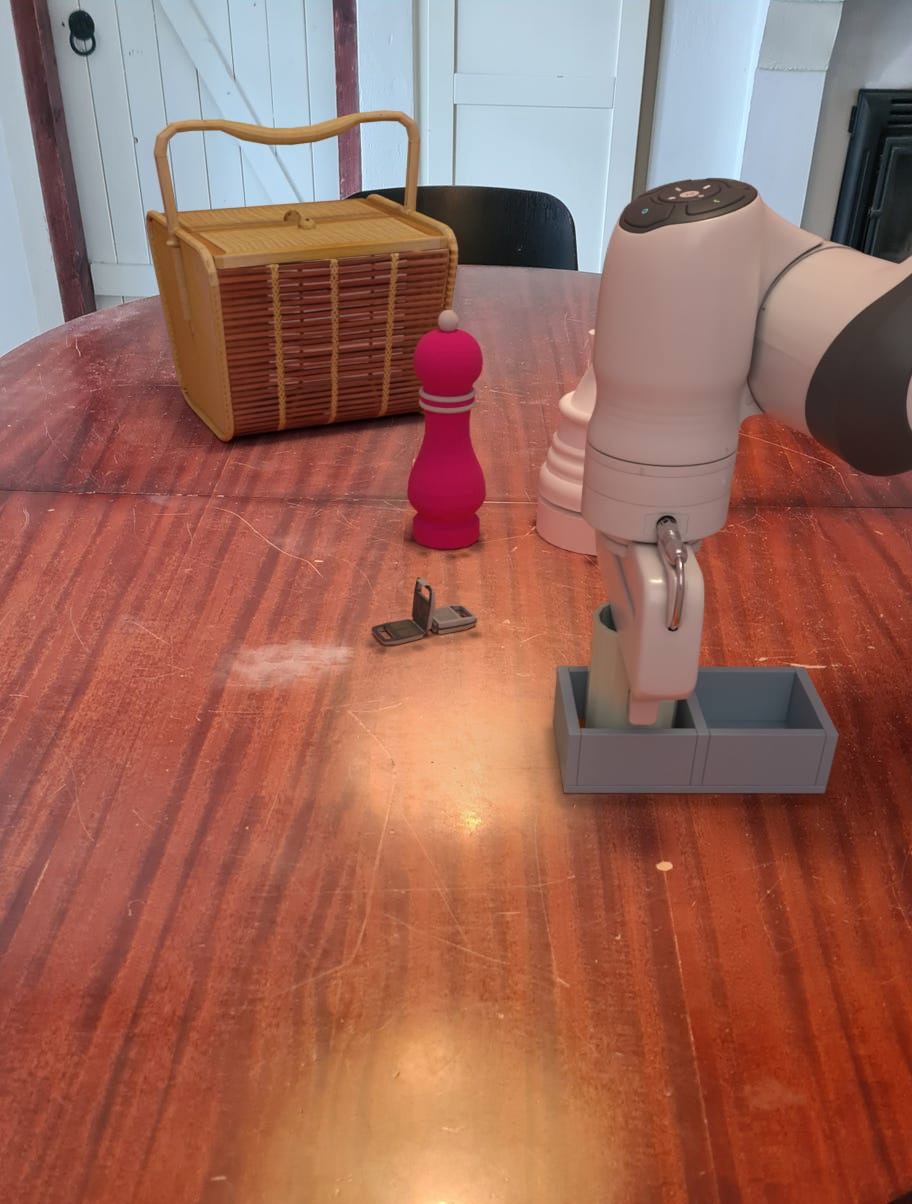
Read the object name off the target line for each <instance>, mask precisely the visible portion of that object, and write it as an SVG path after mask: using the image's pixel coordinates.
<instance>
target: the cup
mask: <svg viewBox="0 0 912 1204" xmlns="http://www.w3.org/2000/svg"><path fill="white" fill-rule="evenodd" d="M591 618H592V619H591V630H590V642H589V652H588V653H589V654H588V665H587V666H588V675H587V687H586V698H585V710H584V721H583V727H584V728H645V729H674V723H675V716H676V708H677V701H678V700H660V701H659V708H658V715H657V720H656V722H655V723H653V724H651V725H634V724H632V723H630V721H629V718H628V713H627V709H626V707H627V697H628V690H631V686H630V682H629V678H628V675H627V671H626V667H625V663H624V660H623V656H622V652H621V648H620V644H619V639H618V634H617V632H616V629H615V626H614V622H613V618H612V614H611V610H610V604H609V601H608V600H607V601H606V602H603V603H601V604H600V605H597V607H596V609H595V610H594V612H593V613H592V617H591Z"/></svg>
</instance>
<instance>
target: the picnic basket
mask: <svg viewBox="0 0 912 1204" xmlns="http://www.w3.org/2000/svg"><path fill="white" fill-rule="evenodd" d="M378 122H397V123H399V124H400V125H401V126H403V127H404V128H405V130H406V135H407V138H408V140H407V155H406V157H407V158H406V171H405V172H406V173H405V187H404V205H402V204H401V203H398V202H396V201H394V200H390V199H389V198H386V197H384V196H382V195H379V194H377V193H372V194H369V195H368V196H367V197H366V198H363V197H361V198H347V199H332V200H320V201H319V200H317V201H306V202H305V201H304V202H293V203H292V202H291V203H279V204H277V203H276V204H265V205H264V204H263V205H251V206H250V205H249V206H238V207H224V208H222V207H221V208H210V209H196V210H183V211H181V210H180V211H178V210H177V202H176V197H175V193H174V187H173V181H172V175H171V169H170V164H169V160H168V153H167V151H168V146H169V145H168V144H169V141H170V140H171V139H172V138H173V137H174V136H176V134H179V133H186V132H210V131H211V132H213V131H215V132H217V131H220V132H221V133H225V134H226V135H229V136H232V137H233V138H236V139H239V140H240V141H245V142H250V143H253V144H254V143H255V144H259V145H260V144H261V145H265V146H266V145H267V146H294V145H295V146H296V145H305V144H311V143H313V144H314V143H317V142H321V141H324V140H327V139H330V138H331V139H332V138H334V137H338V136H340V135H342V134H344V133H346V132H348V131H349V130H350V129H353V128H354V127H355V126H357V125H359V124H367V123H378ZM420 149H421V136H420V132H419V128H418V124H417V122H416V121H415V120H414V119H413V118H411V116H409V115H407V114H406V113H405V112H404V111H402V110H400V111H399V110H385V109H383V110H382V109H381V110H372V111H361V112H354V113H351V114H347V115H344V116H340V117H335V118H332V119H329V120H325V121H322V122H319V123H315V124H313V125H303V126H296V127H295V126H294V127H269V126H268V127H267V126H262V125H257V124H253V123H246V122H240V121H233V120H227V119H222V118H216V119H212V118H211V119H207V118H206V119H185V120H179V121H173V122H170V123H168V124H167V126H165V127H164V128H163V129H162V130H161V131H159V133H157V134H156V136H155V141H154V147H153V157H154V163H155V168H156V173H157V179H158V184H159V189H160V195H161V200H162V205H163V206H162V207H163V211H164V212H159V211H158V210H154V209H151V210H148V211H147V212H146V214H145V229H146V235H147V240H148V244H149V250H150V255H151V259H152V264H153V269H154V273H155V278H156V283H157V289H158V292H159V293H158V294H159V298H160V301H161V303H160V304H161V306H162V312H163V317H164V322H165V325H166V331H167V336H168V340H169V347H170V349H171V355H172V360H173V364H174V369H175V374H176V378H177V381H178V385H179V387H180V390H181V393H182V395H183V398H184V400H185V401H186V403H187V405H188V406H189V407H190V409H191V410H192V411H193V412H194V413H195V414H196V415H197V416H198V417H199V418H200V419H201V421H203V423H204V424H205V425H206V426H207V427H208V428H209V429H210V430H211V432H213V434H214V435H215V437H217V438H218V439H219V440H221V441H222V442H226V443H228V442H229V441H230V440H232V439H233V438H235V437H242V436H249V435H256V434H263V433H264V434H265V433H271V432H281V431H285V430H293V429H294V430H295V429H301V428H307V427H308V428H309V427H316V426H323V425H328V424H329V425H330V424H338V423H344V422H345V423H346V422H353V421H359V420H366V419H373V418H375V419H376V418H381V417H389V416H396V415H402V414H403V415H404V414H411V413H419V414H421V415H425V413H424V409H423V408H422V407H421V406H420V405H419V400H420V394H419V390H420V388H421V387H422V386H423V384H422V382H421V381H420V380H419V378H418V377H417V376H416V373H415V371H414V366H413V358H414V352H415V349H416V347H417V344H418V343H419V341H420V340H421V338H422V337H424V336H425V335H426V334H427V333H429V332H431V331H433V330H436V329H440V327H439V325H438V318H439V315H440V314H441V313H442V312H443V311H445V310H452V307H453V301H454V292H455V285H456V279H457V272H458V263H459V247H458V241H457V237H456V235H455V233H454V230H453V229H452V228H450V226H449V225H447V224H446V223H443V222H441V221H438V220H436V219H435V218H432V217H429V216H427V215H425V214H423V213H421V212H418V211H416V210H417V195H418V183H419V182H418V179H419V166H420V165H419V164H420V152H421V151H420Z"/></svg>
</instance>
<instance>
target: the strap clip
mask: <svg viewBox="0 0 912 1204" xmlns="http://www.w3.org/2000/svg"><path fill="white" fill-rule="evenodd" d="M422 587H423V588H425V589H426V590H427V591H428V592H429V593H428V594H429V595H428V597H427V596H426V595H424V593H422V592H423V591H422V589H423V588H422ZM413 590H414V591H413V597H412V598H413V599H412V609H411V618H412V619H411V618H407V619H401V620H395V621H391V622H385V623H381V624H377V625H374V626H372V627H371V633H372V634H373V635H374V636H375V637H376V638H377V640H379V641H380V642H381V643H382V644H384V645H401V644H405V643H409V642H413V641H416V640H421V639H423V638H424V636H426V633H428V632H429V631H430V630H431V631H432V632H433V633H434V634H438V635H444V634H450V633H454V632H461V631H466V630H467V629H470V628H472V627H475V626H476V624H477V623H478V618H477V616H476V614H474V613H473V612H472V610H470V609H469V608H467V606H465V605H463V604H447V605H444V606H438V607H436V594H435V588H434V587H433V585H431V584H430V583H428V582H427V581H426V580H425V579H424V578H423V577H421V576H419V577H417V578H416V581H415V585H414V589H413ZM461 615H462V616H464V617H462V616H461ZM386 631H387V633H388V634H389V635H390V636H392V637H391V638H385V637H384V635H382V633H381V632H386Z"/></svg>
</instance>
